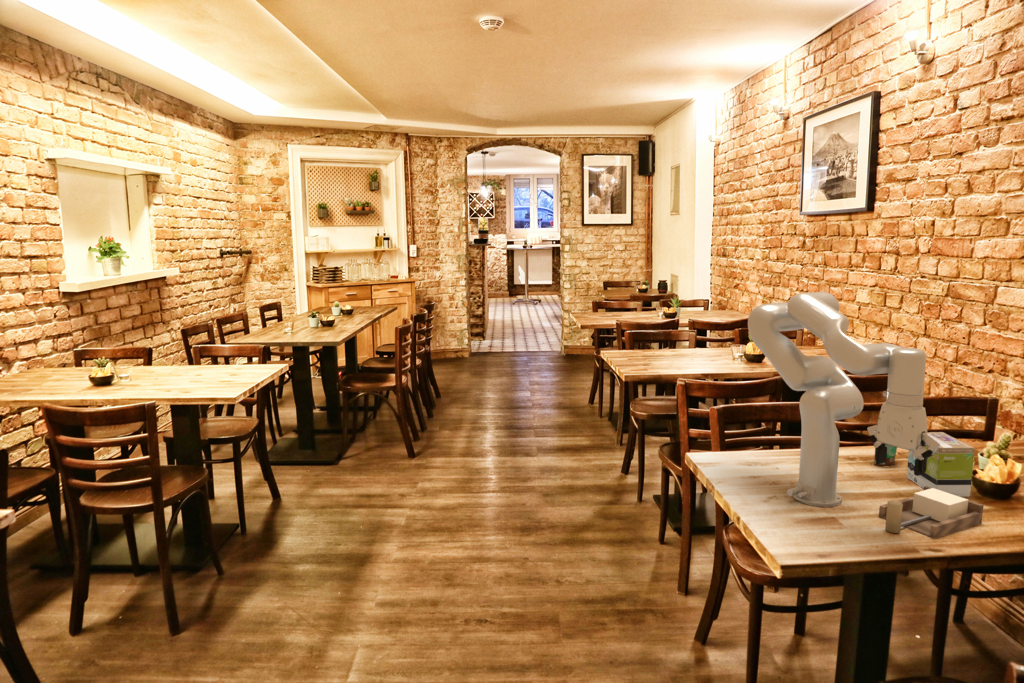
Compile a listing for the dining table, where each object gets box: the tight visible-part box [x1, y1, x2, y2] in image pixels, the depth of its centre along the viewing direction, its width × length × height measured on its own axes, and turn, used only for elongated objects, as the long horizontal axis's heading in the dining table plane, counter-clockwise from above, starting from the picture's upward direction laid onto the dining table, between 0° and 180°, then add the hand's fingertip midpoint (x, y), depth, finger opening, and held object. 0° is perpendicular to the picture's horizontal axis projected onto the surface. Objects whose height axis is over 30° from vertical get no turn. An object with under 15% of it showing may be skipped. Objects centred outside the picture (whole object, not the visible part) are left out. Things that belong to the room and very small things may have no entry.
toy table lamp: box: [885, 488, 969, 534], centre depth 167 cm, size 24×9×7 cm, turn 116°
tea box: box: [906, 431, 975, 498], centre depth 191 cm, size 15×10×15 cm
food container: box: [873, 444, 898, 467], centre depth 212 cm, size 12×6×10 cm, turn 143°
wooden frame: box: [878, 486, 984, 540], centre depth 169 cm, size 19×14×5 cm
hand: (899, 468), depth 161 cm, fingers open, 9 cm apart
